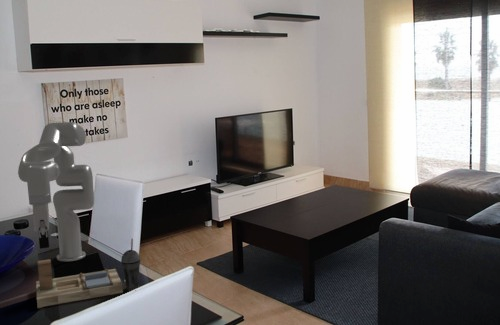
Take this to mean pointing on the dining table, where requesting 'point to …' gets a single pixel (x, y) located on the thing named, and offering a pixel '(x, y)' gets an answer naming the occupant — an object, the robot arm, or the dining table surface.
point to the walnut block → (45, 274)
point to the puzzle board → (76, 289)
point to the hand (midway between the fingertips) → (44, 243)
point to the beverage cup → (131, 268)
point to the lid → (97, 279)
